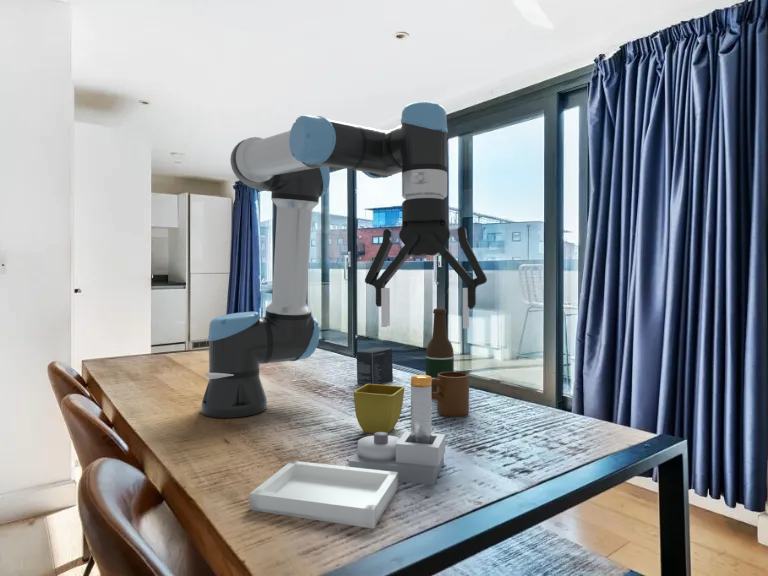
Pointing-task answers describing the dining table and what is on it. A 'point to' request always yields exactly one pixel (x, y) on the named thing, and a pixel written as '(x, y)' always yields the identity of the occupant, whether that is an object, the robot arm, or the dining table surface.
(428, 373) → the beer bottle
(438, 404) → the mug
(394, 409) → the flower pot
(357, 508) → the tray
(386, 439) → the tensioner block
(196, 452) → the dining table surface
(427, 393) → the pin
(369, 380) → the box
